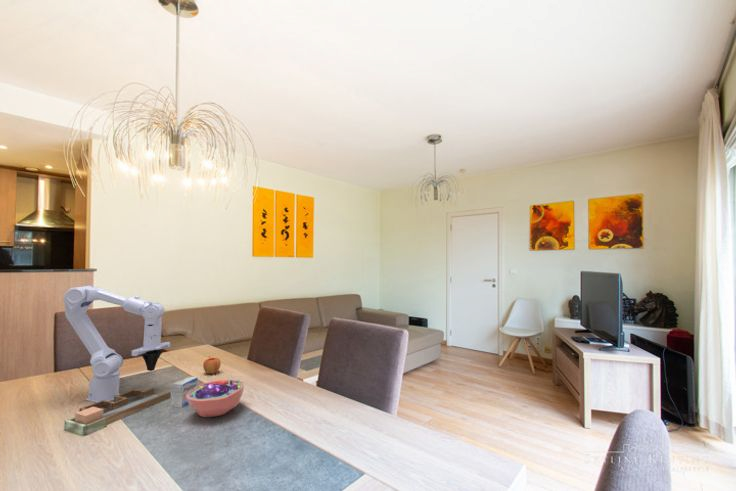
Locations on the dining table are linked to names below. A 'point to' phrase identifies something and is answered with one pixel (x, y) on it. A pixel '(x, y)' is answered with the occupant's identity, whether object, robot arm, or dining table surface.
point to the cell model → (215, 397)
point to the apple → (211, 365)
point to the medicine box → (182, 391)
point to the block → (89, 415)
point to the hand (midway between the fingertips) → (150, 370)
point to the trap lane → (117, 409)
